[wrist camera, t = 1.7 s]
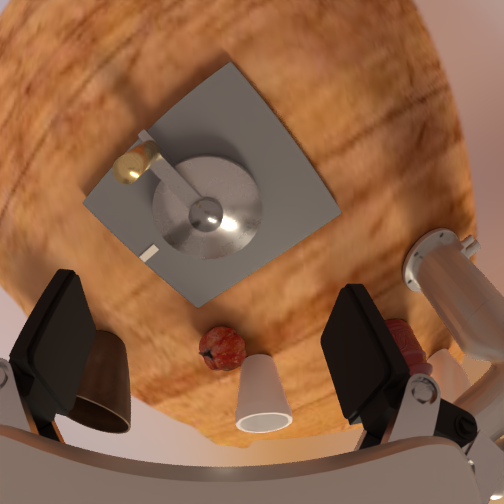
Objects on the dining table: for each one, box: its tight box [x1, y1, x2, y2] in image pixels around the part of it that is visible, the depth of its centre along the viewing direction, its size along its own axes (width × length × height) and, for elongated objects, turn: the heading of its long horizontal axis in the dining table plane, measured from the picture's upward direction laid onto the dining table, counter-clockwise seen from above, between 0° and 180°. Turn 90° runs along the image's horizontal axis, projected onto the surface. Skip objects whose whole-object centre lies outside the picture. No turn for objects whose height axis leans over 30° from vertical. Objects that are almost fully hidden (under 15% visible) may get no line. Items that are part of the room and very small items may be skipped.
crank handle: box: [112, 140, 263, 259], centre depth 27 cm, size 16×12×9 cm
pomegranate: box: [199, 327, 246, 371], centre depth 43 cm, size 7×7×10 cm
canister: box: [385, 319, 434, 379], centre depth 43 cm, size 13×13×18 cm
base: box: [83, 61, 342, 308], centre depth 32 cm, size 24×22×2 cm
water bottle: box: [427, 348, 471, 403], centre depth 47 cm, size 10×9×28 cm
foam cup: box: [235, 354, 292, 433], centre depth 45 cm, size 10×9×13 cm
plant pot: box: [66, 331, 131, 434], centre depth 39 cm, size 15×15×16 cm
